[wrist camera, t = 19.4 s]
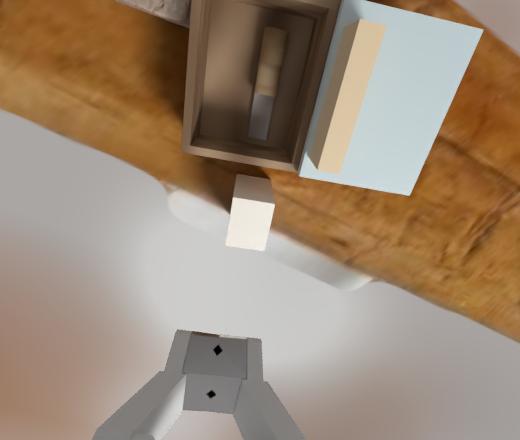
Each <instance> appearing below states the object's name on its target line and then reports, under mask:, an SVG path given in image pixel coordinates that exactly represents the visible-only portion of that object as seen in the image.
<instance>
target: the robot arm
mask: <svg viewBox="0 0 520 440" xmlns="http://www.w3.org/2000/svg"><path fill="white" fill-rule="evenodd" d="M262 364H263V363H262V342H261V339H257V338H246V337H239V336H229V335H216V334H209V333H202V332H194V331H186V330H177V331H176V333H175V336H174V340H173V343H172V347H171V350H170V353H169V357H168V360H167V364H166V367H165V371H164V372H163V371H162V372H161V371H159V372H158V374H156V375H155V376H154V377H153V378H152V379H151V380H150V381H149V382H148V383H147V384H146V385H144V386H143V387H142V388H141V389H140V390H139V391H138V392H137V393H136V394H135V395H133V396H132V397H131V398H130V399H129V400H128V401H127V402H126V403H125V404H124V405H123V406H122V407H120V409H118V410H117V411H116V412H115V413H114V414H113V415H112V416H111V417H110V418H109V419H107V421H105V422H104V423H103V424H102V425H101V426H100V427H99V428H98V429H97V430H96V432H95V434H94V437H93V439H92V440H161V439H162V437H163V436H164V435H165V434H166V432H167V431H168V430H169V428H170V427H171V426H172V424H173V423H174V422H175V421H176V419H177V418H178V417H179V415H180V414H181V413H182V410H192V411H209V412H218V413H227V414H233V416H234V419H235V421H236V423H237V426H238V428H239V430H240V432H241V435H242V437H243V439H244V440H306V439H305V437H304V436H303V434H302V433H301V431H300V430H299V428H298V427H297V425H296V424H295V422H294V421H293V419H292V418H291V416H290V415H289V413H288V412H287V410H286V409H285V407H284V406H283V404H282V403H281V401H280V400H279V398H278V397H277V395H276V394H275V392H274V391H273V389H272V388H271V386H270V385H269V384H268V382H266V381H263V365H262Z"/></svg>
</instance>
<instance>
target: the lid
mask: <svg viewBox="0 0 520 440" xmlns="http://www.w3.org/2000/svg"><path fill="white" fill-rule="evenodd" d="M482 32H483V29H479V28H475V27H471V26H467V25H463V24H459V23H455V22H451V21H447V20H443V19H438V18H434V17H430V16H426V15H422V14H418V13H414V12H410V11H406V10H402V9H398V8H394V7H390V6H386V5H382V4H378V3H374V2H370V1H366V0H342V1H341V5H340V9H339V13H338V17H337V21H336V25H335V29H334V33H333V37H332V41H331V45H330V48H329V52H328V56H327V60H326V64H325V68H324V72H323V76H322V80H321V84H320V88H319V92H318V96H317V100H316V104H315V107H314V111H313V115H312V119H311V123H310V127H309V131H308V135H307V139H306V143H305V147H304V151H303V155H302V159H301V163H300V167H299V170H298V175H299V176H300V177H306V178H311V179H317V180H323V181H329V182H334V183H340V184H346V185H351V186H357V187H363V188H369V189H374V190H380V191H386V192H391V193H397V194H403V195H409V196H410V194H411V192H412V189H413V187H414V185H415V183H416V180H417V178H418V176H419V174H420V171H421V169H422V167H423V165H424V162H425V160H426V158H427V156H428V153H429V151H430V149H431V147H432V144H433V142H434V140H435V138H436V135H437V133H438V131H439V129H440V127H441V124H442V122H443V120H444V118H445V115H446V113H447V111H448V109H449V106H450V104H451V102H452V100H453V97H454V95H455V93H456V91H457V88H458V86H459V84H460V82H461V79H462V77H463V75H464V73H465V70H466V68H467V66H468V64H469V61H470V59H471V57H472V55H473V52H474V50H475V48H476V46H477V43H478V41H479V39H480V37H481V34H482Z"/></svg>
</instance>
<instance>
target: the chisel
mask: <svg viewBox="0 0 520 440" xmlns="http://www.w3.org/2000/svg"><path fill="white" fill-rule="evenodd" d="M287 37H288V32H287V31H285V30H282V29H278V28H273V27H265V29H264V35H263V41H262V47H261V53H260V59H259V66H258V72H257V78H256V84H255V90H254V92H255V94H254V100H253V106H252V112H251V118H250V124H249V130H248V137H251V138H256V139H262V140H266V138H267V132H268V127H269V122H270V117H271V112H272V107H273V101H274V97H276V93H277V88H278V83H279V78H280V73H281V68H282V63H283V58H284V53H285V47H286V42H287Z"/></svg>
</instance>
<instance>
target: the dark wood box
mask: <svg viewBox="0 0 520 440" xmlns="http://www.w3.org/2000/svg"><path fill="white" fill-rule="evenodd" d="M340 2H341V0H192V1H191V15H190V30H189V45H188V59H187V74H186V88H185V103H184V118H183V132H182V147H181V152H183V153H188V154H194V155H200V156H205V157H211V158H217V159H222V160H228V161H234V162H239V163H245V164H251V165H256V166H262V167H268V168H273V169H279V170H285V171H291V172H296V173H297V172H298V168H299V164H300V160H301V156H302V152H303V148H304V144H305V140H306V136H307V132H308V128H309V124H310V120H311V117H312V113H313V109H314V105H315V101H316V97H317V93H318V89H319V85H320V81H321V77H322V73H323V69H324V65H325V61H326V57H327V53H328V49H329V45H330V41H331V38H332V34H333V30H334V26H335V22H336V18H337V14H338V10H339V6H340ZM265 27H273V28H278V29H282V30H285V31H287V32H288V37H287V42H286V47H285V53H284V58H283V63H282V68H281V73H280V78H279V83H278V88H277V93H276V97H274V101H273V107H272V112H271V117H270V122H269V127H268V132H267V138H266V140H262V139H256V138H251V137H248V130H249V124H250V118H251V112H252V106H253V100H254V94H255V92H254V90H255V84H256V78H257V72H258V66H259V59H260V53H261V47H262V41H263V35H264V29H265Z"/></svg>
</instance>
